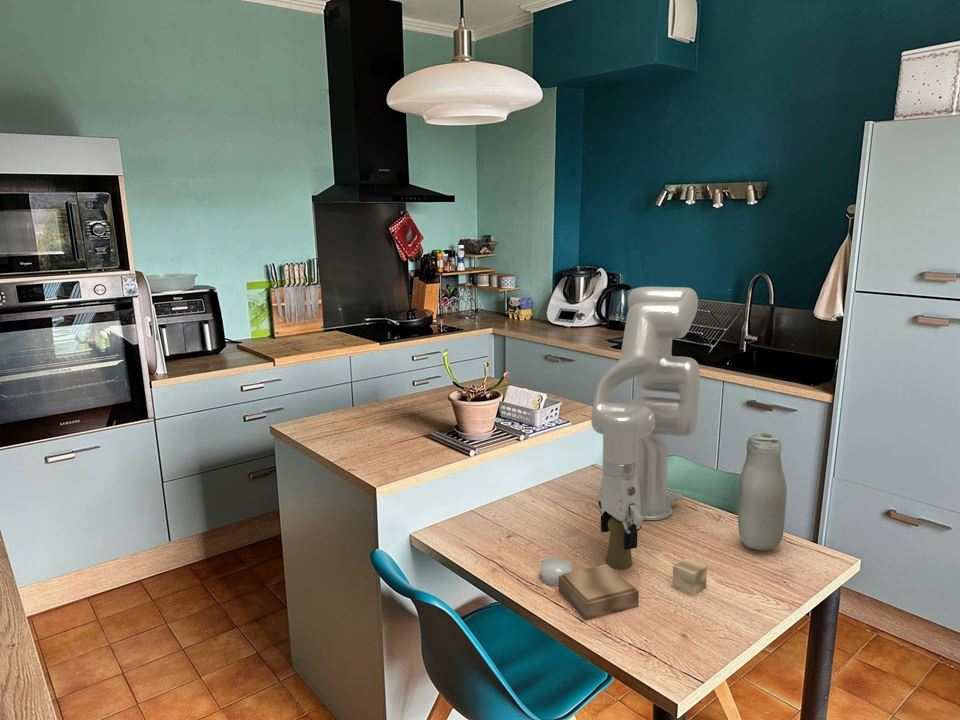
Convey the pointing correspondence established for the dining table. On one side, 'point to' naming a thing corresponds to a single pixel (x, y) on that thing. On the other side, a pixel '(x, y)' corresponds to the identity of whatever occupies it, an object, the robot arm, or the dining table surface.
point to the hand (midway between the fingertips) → (618, 539)
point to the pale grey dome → (554, 570)
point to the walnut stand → (598, 591)
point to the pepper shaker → (617, 546)
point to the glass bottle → (762, 494)
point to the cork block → (689, 576)
